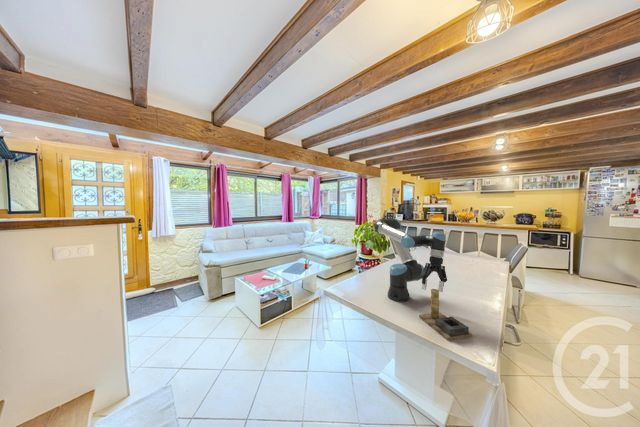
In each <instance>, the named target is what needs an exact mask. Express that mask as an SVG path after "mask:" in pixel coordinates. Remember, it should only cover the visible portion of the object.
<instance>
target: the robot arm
mask: <svg viewBox="0 0 640 427" xmlns="http://www.w3.org/2000/svg"><path fill="white" fill-rule="evenodd" d="M373 228H374V230H375V232H376V233H378V234H380V235H384V236H387V237H388V238H390V240H391V242H392V243H393V245H394V248H395V250H396V253H397V254H398V256H399V258H400V261H401V263H394V264H391V266H390V267H389V287H388V291H387V298H389V299H390V300H391V301H392V300H393V301H395V302H408V301H409V300H410V297H411V296H410V295H411V294H410V292H409V289H408V283H409V282H415V281H421V290H424V291H427V285H428V277H429V276H430V275H431V274H432V273H434V272H435V273H436V274H437V276H438V278H439V282H438V289H437V290H439V293H443V292H444V287H445V283H447V281H448V276H447V272H446V266H445V265H443V263H444V254H445V248H446V247H445V246H446V242H447V240H446V239H447V235H446V233H443V232H439V231H438V232H432V235H430V234H429V235H428V234H419V235H410V234H408V233H405V232H403V231H402V223H401V221H400V220H399V219H397V218H396V217H395V218H393V217H391V218H379V219H377V220H376V221H375V222H374V225H373ZM420 247H421V248H423V247H430V251H429V252H430V254H429V255H430V256H429V260H428V261H429V262H425V264H424V266H423V264H421V263H419V262H418V261H417V259H415V258H413V256H412V254H411V252H410V249H412V248H420Z"/></svg>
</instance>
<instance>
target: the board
mask: <svg viewBox="0 0 640 427" xmlns="http://www.w3.org/2000/svg"><path fill="white" fill-rule="evenodd" d="M418 318H419V319H420V320H422V321H423V322H424V323H426V324H427V325H428V326H429V327H430V328H432V329H433V330H434V331H435V332H436V333H438V335H440V336H442V338H444V339H445V341H454V340H461V339H469V338H473V333H471V332H470V331H469V330H470V329H469V327H468V326H467V325H466V324H464V323H463V322H461V321H459V320H458V319H457V318H455V317H454V316H449V317H447V316H446V315H445V314H443V313H442V312H440V311H439V318H438V319H433V318H432V317H431V312H430V313H424V314H419V315H418Z"/></svg>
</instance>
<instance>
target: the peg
mask: <svg viewBox="0 0 640 427" xmlns="http://www.w3.org/2000/svg"><path fill="white" fill-rule="evenodd" d="M439 312H440V291H439V290H438V289H437V288H431V289H430V313H431V317H432V318H433V319H438V318H439Z"/></svg>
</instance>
